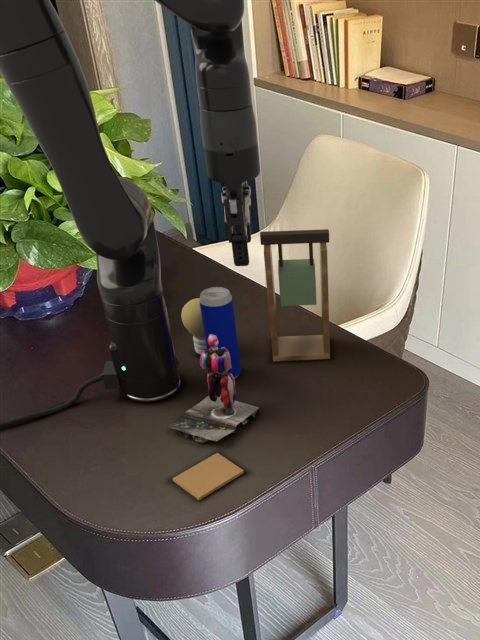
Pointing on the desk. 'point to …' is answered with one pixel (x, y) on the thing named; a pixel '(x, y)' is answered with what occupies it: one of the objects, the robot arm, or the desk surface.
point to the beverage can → (220, 322)
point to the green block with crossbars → (296, 265)
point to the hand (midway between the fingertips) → (243, 253)
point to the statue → (215, 400)
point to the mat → (208, 476)
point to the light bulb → (194, 324)
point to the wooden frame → (299, 345)
